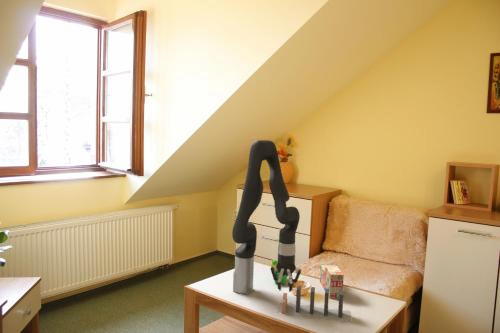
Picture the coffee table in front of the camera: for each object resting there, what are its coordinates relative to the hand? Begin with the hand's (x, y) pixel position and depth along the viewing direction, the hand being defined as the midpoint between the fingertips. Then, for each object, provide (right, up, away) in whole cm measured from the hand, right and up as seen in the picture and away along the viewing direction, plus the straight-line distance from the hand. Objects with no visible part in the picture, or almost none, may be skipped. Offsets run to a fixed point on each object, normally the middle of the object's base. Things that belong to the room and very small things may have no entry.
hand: (285, 290), depth 172 cm
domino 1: (-1, -6, -5) cm, 8 cm away
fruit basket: (0, -6, +33) cm, 34 cm away
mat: (+12, -9, -2) cm, 15 cm away
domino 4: (+17, -9, -3) cm, 20 cm away
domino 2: (+6, -8, -1) cm, 10 cm away
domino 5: (+23, -9, -4) cm, 25 cm away
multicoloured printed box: (+25, -8, +23) cm, 35 cm away
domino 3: (+11, -9, -2) cm, 14 cm away
